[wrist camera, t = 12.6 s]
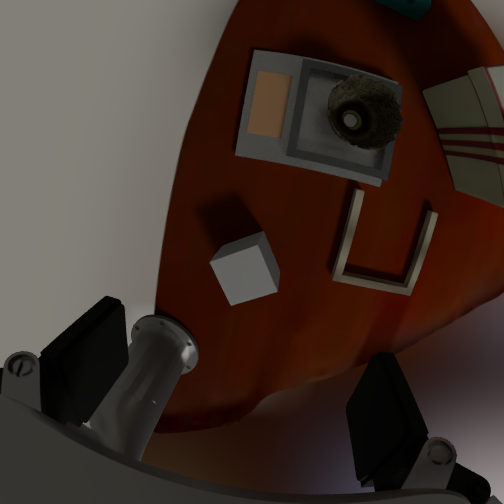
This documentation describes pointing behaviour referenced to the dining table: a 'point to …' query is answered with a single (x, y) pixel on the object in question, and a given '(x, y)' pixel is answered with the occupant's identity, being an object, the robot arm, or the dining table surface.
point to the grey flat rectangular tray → (305, 118)
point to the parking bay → (371, 281)
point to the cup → (364, 112)
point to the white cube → (246, 268)
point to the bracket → (408, 7)
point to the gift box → (472, 130)
